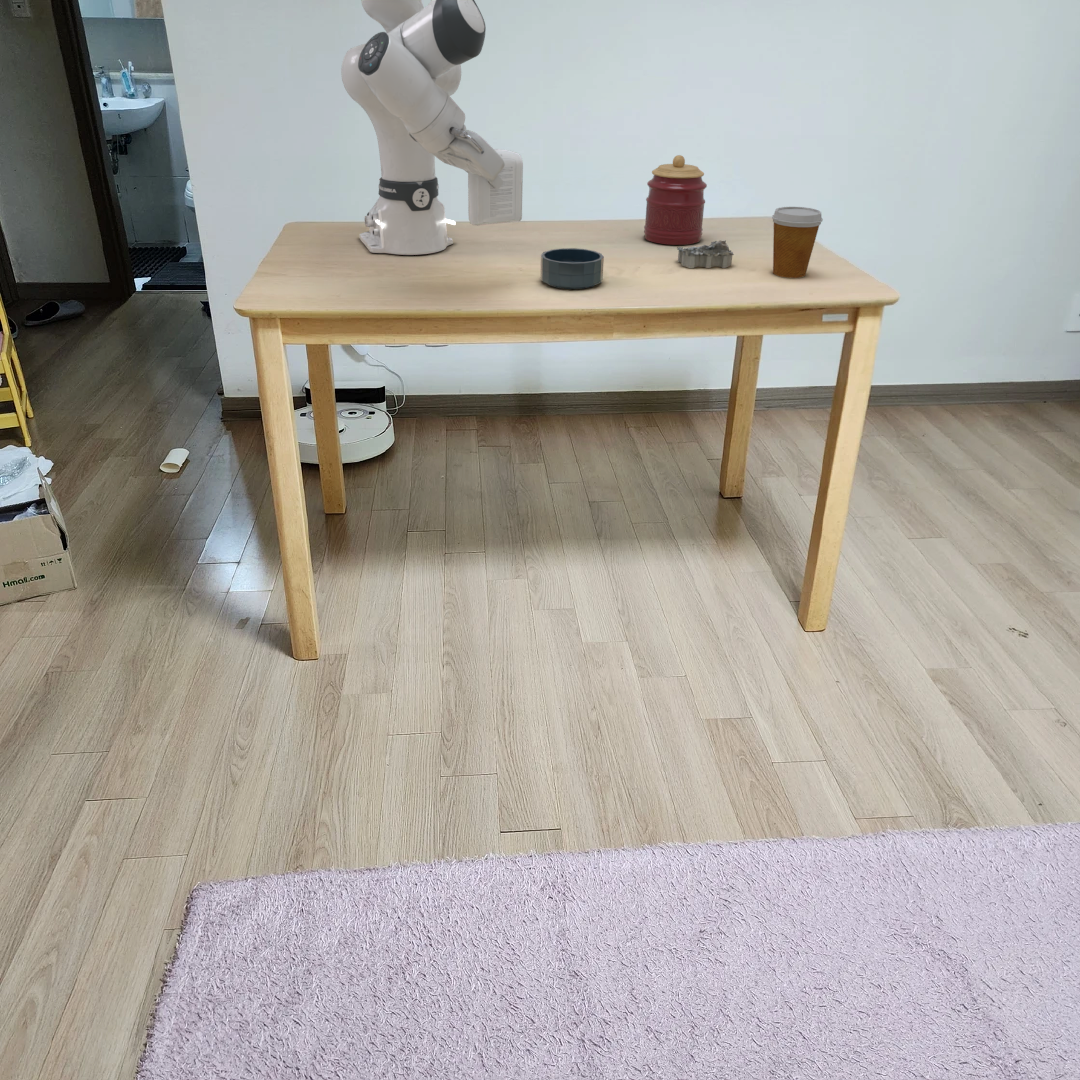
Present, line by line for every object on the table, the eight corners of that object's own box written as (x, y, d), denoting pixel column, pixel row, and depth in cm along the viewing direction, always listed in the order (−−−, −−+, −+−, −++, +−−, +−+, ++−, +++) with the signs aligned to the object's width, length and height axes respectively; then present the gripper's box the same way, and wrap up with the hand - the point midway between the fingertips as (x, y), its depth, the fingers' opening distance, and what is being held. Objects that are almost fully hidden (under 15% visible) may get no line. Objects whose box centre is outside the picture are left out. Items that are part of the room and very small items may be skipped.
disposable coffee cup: (815, 270, 188) (825, 208, 182) (811, 282, 180) (821, 217, 174) (767, 266, 190) (775, 204, 184) (761, 277, 183) (769, 213, 176)
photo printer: (513, 217, 174) (513, 145, 167) (525, 221, 170) (526, 149, 164) (464, 223, 169) (463, 149, 162) (476, 227, 165) (475, 152, 159)
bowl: (529, 278, 179) (530, 252, 177) (580, 271, 185) (581, 245, 182) (561, 293, 171) (562, 266, 168) (613, 285, 176) (615, 258, 173)
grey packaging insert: (725, 260, 195) (728, 239, 193) (733, 269, 188) (736, 248, 186) (675, 259, 194) (676, 239, 192) (681, 268, 188) (683, 247, 186)
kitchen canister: (632, 240, 209) (638, 155, 200) (660, 230, 218) (666, 149, 209) (685, 248, 202) (692, 161, 193) (711, 238, 212) (720, 154, 203)
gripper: (479, 117, 148) (531, 178, 158) (425, 103, 164) (476, 160, 173) (454, 149, 149) (508, 207, 158) (403, 132, 164) (455, 187, 173)
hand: (491, 182), depth 166 cm, fingers closed on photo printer, 4 cm apart
